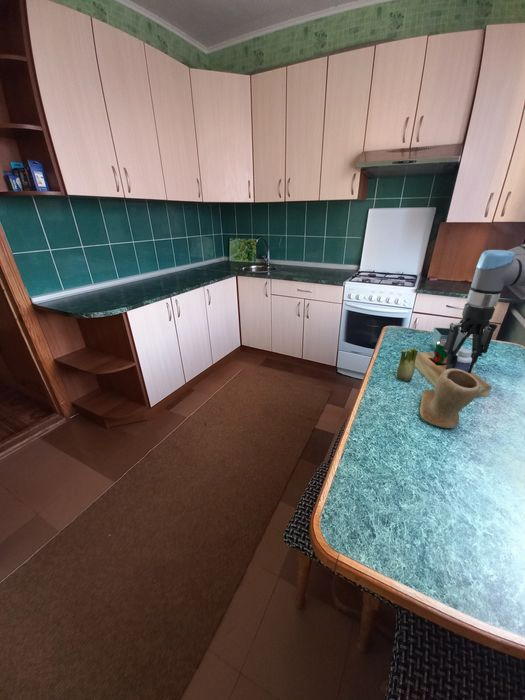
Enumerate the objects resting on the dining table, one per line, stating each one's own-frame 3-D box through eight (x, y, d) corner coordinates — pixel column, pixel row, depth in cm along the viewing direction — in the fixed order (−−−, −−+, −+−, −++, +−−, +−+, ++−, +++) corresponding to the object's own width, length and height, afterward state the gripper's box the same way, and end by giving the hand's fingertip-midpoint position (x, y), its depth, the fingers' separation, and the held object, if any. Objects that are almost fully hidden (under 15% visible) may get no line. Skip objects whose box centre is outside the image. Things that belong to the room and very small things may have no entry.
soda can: (442, 375, 105) (451, 345, 100) (427, 370, 109) (435, 341, 103) (446, 370, 109) (455, 341, 103) (432, 365, 112) (440, 337, 106)
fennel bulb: (395, 381, 103) (402, 350, 97) (394, 374, 107) (400, 344, 101) (413, 383, 101) (421, 353, 95) (411, 376, 105) (419, 346, 100)
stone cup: (465, 438, 77) (483, 391, 71) (416, 422, 83) (428, 378, 76) (464, 407, 89) (480, 365, 82) (421, 395, 95) (433, 355, 88)
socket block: (444, 361, 115) (447, 352, 113) (487, 396, 94) (491, 386, 92) (410, 362, 114) (412, 353, 113) (445, 397, 93) (448, 387, 92)
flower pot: (450, 347, 125) (456, 328, 121) (458, 357, 117) (465, 336, 113) (428, 346, 127) (433, 327, 123) (435, 355, 119) (441, 335, 115)
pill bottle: (468, 380, 95) (478, 354, 91) (450, 379, 96) (459, 353, 92) (461, 372, 100) (470, 347, 95) (444, 371, 101) (452, 346, 96)
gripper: (501, 300, 90) (477, 365, 101) (442, 301, 90) (424, 366, 100) (520, 308, 83) (493, 376, 94) (457, 309, 83) (437, 378, 94)
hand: (457, 371), depth 97 cm, fingers closed on pill bottle, 5 cm apart
